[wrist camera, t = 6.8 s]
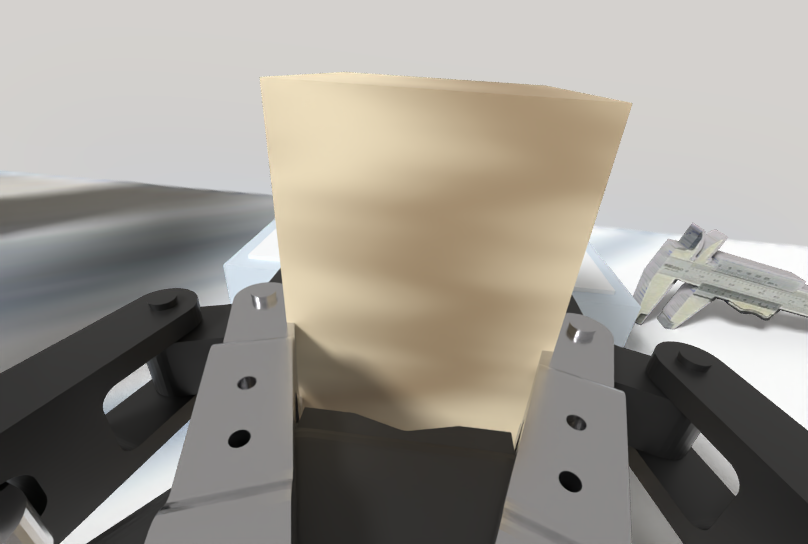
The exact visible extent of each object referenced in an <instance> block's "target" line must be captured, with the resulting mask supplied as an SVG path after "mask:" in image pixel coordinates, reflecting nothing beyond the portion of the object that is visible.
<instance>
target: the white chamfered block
mask: <svg viewBox="0 0 808 544" xmlns="http://www.w3.org/2000/svg"><path fill="white" fill-rule="evenodd" d="M223 268H224V273H225V278H226V283H227V288H228V293H229V298H230V303H231V304H232V303H233V299H234V297H235V295H236V294H237V293H238V292H239V291H241V290H242V289H244V288H246V287H248V286H251V285H254V284H258V283H265V282H269V281H270V280H271V279H272V277H273V276H274V275H275V274H276V273H277V271H278V270H279V269H280V268H281V266H280V257H279V248H278V239H277V230H276V220H275V219H274V220H273V221H272V222H271V223H270V224H268V225H267V226H266V227H265V228H264V229H263V230H262V231H261V232H259V233H258V234H257V235H256V236H255V237H254V238H253V239H252V240H250V241H249V242H248V243H247V244H246V245H245V246H244V247H243V248H241V249H240V250H239V251H238V252H237V253H236V254H235V255H234V256H232V257H231V258H230V259H229V260H228V261H227V262H226V263H225V264H223ZM572 295H573V297H574V299H575V301H576V302H577V304H578V306H579V308H580V310H581V312H582V313H583V315H584V316H587V317H590V318H592V319H594V320H596V321H598V322H600V323H601V324H603V325H604V326H605V327H607V328H608V329H609V330H610V332H611V333H612V335H613V338H614V344H615V345H617V346H619V347H622V348H624V346H625V344H626V341H627V339H628V337H629V334H630V332H631V330H632V327H633V325H634V323H635V320H636V318H637V316H638V313H639V311H640V309H641V306H640V305H639V304H638V302H637V301H636V300H635V299H634V297H633V296H632V295H631V294H630V292H629V291H628V290H627V289H626V287H625V286H624V285H623V284H622V282H621V281H620V280H619V279H618V277H617V276H616V275H615V274H614V272H613V271H612V270H611V269H610V267H609V266H608V265H607V264H606V262H605V261H604V260H603V259H602V257H601V256H600V255H599V254H598V252H597V251H596V250H595V249H594V247H593V246H592V245H591V244H590V242H588V245H587V248H586V251H585V254H584V257H583V261H582V264H581V267H580V270H579V273H578V276H577V279H576V283H575V286H574V289H573V292H572Z"/></svg>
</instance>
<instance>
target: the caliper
mask: <svg viewBox="0 0 808 544" xmlns="http://www.w3.org/2000/svg"><path fill="white" fill-rule="evenodd" d="M727 238H728V237H727V236H726V235H724V234H723V233H721V232H719V231H718V230H716V229H714V230H712V231H710V232H708V233H707V234H705V231H704V230H703V229H702V228H701V227H699V226H698V225H696V224H695V223H692V224H691V225H690V227H689V228H688V229H687V231H686V232H685V233H684V235H683V236H682V237H681V239H680V240H679V241H676V240H671V239H667V241H666V242H665V243H664V244H663V246H662V247H661V248H660V250H659V251H658V252H657V253H656V255H655V256H654V257H653V259H652V260H651V261H650V262H649V264H648V265H647V266H646V268H645V269H644V271H643V273H642V276H641V278H640V280H639V283H638V285H637V288H636V290H635V292H634V295H633V297H634V299H635V300H636V301H637V302H638V304H639V305H640V306H641V309H640V311H639V313H638V316H637V318H636V320H635V321H636V323H638V324H640V325H641V324H642V323H643V322H644V320H645V319H646V318H647V317H648V315H649V314H650V313H651V311H652V310H653V309H654V308H655V307H656V305H657V304H658V303H659V302H660V301H661V299H662V298H663V297H664V296H665V295H666V293H667V292H668V291H669V290H670V289H671V287H672V286H673V285H674V284H675V283H676V281H677V280H680V281H682V282H685V283H684V284H683V285H682V286H681V287H680V288H679V289H678V291H677V292H676V293H675V294H674V296H673V297H672V298H671V299H670V300H669V302H668V303H667V304H666V305H665V307H664V308H663V312H662V313H661V314H660V315H659V316H658V317H657V319H658V321H659V322H660V323H661V324H662V326H663V327H664V328H667V329H675V328H677V327H678V326H679V325H681V324H682V323H683V322H685V321H686V320H687V319H689V318H690V317H692V316H693V315H694V314H696V313H697V312H698V311H700V310H701V309H702V308H704V307H705V306H706V305H708V304H709V303H711V302H712V301H713V300H715V299H716V298H717V299H721V300H724V301H725V302H726V303H727V304H728V305H730V306H731V307H733V308H734V309H736V310H737V311H738V312H740V313H743V314H753V315H756V316H758V317H759V318H761V319H763V320H770V319H772V318H773V317H774V316H775V315H776V314H777V313H778V312H779V311H780V310H782V311H786V312H790V313H793V314H797V315H800V316H804V317H808V285H806V284H805V282H806V281H804V280H803V279H801V278H800V277H798V276H796V275H795V274H793V273H792V272H788V271H785V270H782V269H778V268H775V267H772V266H768V265H765V264H761V263H758V262H755V261H751V260H748V259H745V258H741V257H738V256H735V255H731V254H728V253H724V252H721V251H718V249H719V248H720V247H721V246H722V245H723V243H724V242H725V241H726V240H727Z"/></svg>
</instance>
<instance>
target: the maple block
mask: <svg viewBox="0 0 808 544" xmlns="http://www.w3.org/2000/svg"><path fill="white" fill-rule="evenodd" d="M260 84H261V92H262V93H261V94H262V103H263V112H264V121H265V129H266V139H267V147H268V157H269V165H270V175H271V184H272V193H273V202H274V211H275V220H276V230H277V239H278V248H279V257H280V266H281V275H282V284H283V293H284V302H285V311H286V320H287V322H288V323H294V324H295V335H296V358H297V376H298V386H299V396H300V397H302V405H303V410H304V408H305V407H309V408H318V409H326V410H334V411H342V412H350V413H356V414H358V415H361V416H364V417H367V418H370V419H372V420H375V421H378V422H381V423H383V424H386V425H389V426H392V427H394V428H397V429H400V430H404V431H413V430H423V429H433V428H443V427H454V426H464V427H472V428H480V429H488V430H496V431H505V432H511V434H512V440H513V445H514V444H515V440H516V436H517V433H518V430H519V426H520V423H522V420H523V416H524V413H525V410H526V406H527V403H528V400H529V396H530V392H531V389H532V385H533V381H534V377H535V373H536V370H537V366H538V363H539V359H540V356H541V353H542V350H543V351H552V352H554V349H555V346H556V342H557V339H558V336H559V333H560V330H561V327H562V324H563V320H564V317H565V314H566V311H567V308H568V305H569V302H570V298H571V295H572V292H573V289H574V286H575V283H576V279H577V276H578V273H579V270H580V267H581V264H582V261H583V257H584V254H585V251H586V248H587V245H588V242H589V239H590V235H591V232H592V229H593V226H594V223H595V220H596V217H597V213H598V210H599V207H600V204H601V201H602V198H603V194H604V191H605V188H606V185H607V181H608V178H609V176H610V173H611V169H612V166H613V163H614V160H615V157H616V154H617V150H618V147H619V144H620V141H621V138H622V135H623V132H624V129H625V125H626V122H627V119H628V116H629V113H630V110H631V106H632V103H629V102H624V101H619V100H614V99H609V98H604V97H599V96H594V95H590V94H585V93H580V92H574V91H570V90H565V89H560V88H555V87H550V86H543V85H528V84H513V83H499V82H484V81H469V80H453V79H441V78H426V77H410V76H397V75H382V74H366V73H353V72H337V73H319V74H304V75H303V74H302V75H286V76H271V77H270V76H269V77H260Z"/></svg>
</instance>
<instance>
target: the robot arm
mask: <svg viewBox="0 0 808 544" xmlns="http://www.w3.org/2000/svg"><path fill="white" fill-rule="evenodd" d="M145 363H147V365H148V368H149V371H150V374H151V377H152V380H150V381H149V382H148V383H146V384H145V385H144V386H142V387H141V388H140V389H138V390H137V391H136V392H135V393H133V394H132V395H131V396H129V397H128V398H127V399H125V400H124V401H123V402H121V403H120V404H119V405H117V406H116V407H115V408H114V409H112V410H111V411H110V412H108V413H107V414H106V415H105V414H104V411H103V402H104V399H105V397H106V395H107V393H108V392H109V391H110V389H111V388H112V387H113V386H115V385H116V384H117V383H119V382H120V381H121V380H123V379H124V378H126V377H127V376H128V375H130V374H131V373H133V372H134V371H135V370H137V369H138V368H140V367H141V366H143V365H144V364H145ZM189 420H190V423H189V427H188V430H187V434H186V438H185V441H184V445H183V448H182V452H181V456H180V459H179V463H178V466H177V470H176V474H175V477H174V481H173V485H172V488H170V489H169V490H167V491H166V492H164V493H163V494H161V495H160V496H158V497H157V498H155V499H154V500H152V501H151V502H149V503H148V504H146V505H145V506H143V507H142V508H140V509H138V510H137V511H135V512H134V513H132V514H131V515H129V516H128V517H126V518H125V519H123V520H122V521H120V522H119V523H117V524H116V525H114V526H113V527H111V528H110V529H108V530H106V531H105V532H103V533H102V534H100V535H99V536H97V537H96V538H94V539H93V540H91V541H90V542H88V543H87V544H632V537H631V512H630V488H629V466H630V468H631V469H632V471H633V472H634V474H635V475H636V476H637V478H638V479H639V481H640V482H641V484H642V485H643V486H644V488H645V489H646V491H647V492H648V494H649V495H650V496H651V498H652V499H653V501H654V502H655V504H656V505H657V506H658V508H659V509H660V511H661V512H662V514H663V515H664V516H665V518H666V519H667V521H668V522H669V524H670V525H671V526H672V528H673V529H674V531H675V532H676V534H677V535H678V536H679V538H680V539H681V541H682V542H683V544H808V430H806V429H805V428H804V427H803V426H801V425H800V424H799V423H798V422H796V421H795V420H794V419H793V418H791V417H790V416H789V415H788V414H786V413H785V412H784V411H783V410H781V409H780V408H779V407H778V406H776V405H775V404H774V403H773V402H772V401H770V400H769V399H768V398H767V397H765V396H764V395H763V394H762V393H760V392H759V391H758V390H757V389H755V388H754V387H753V386H752V385H750V384H749V383H748V382H747V381H745V380H744V379H743V378H742V377H740V376H739V375H738V374H737V373H735V372H734V371H733V370H732V369H730V368H729V367H728V366H727V365H725V364H724V363H723V362H722V361H720V360H719V359H718V358H716V357H715V356H713V355H711V354H710V353H708V352H706V351H704V350H702V349H700V348H697V347H694V346H692V345H688V344H685V343H680V342H662V343H660V344H658V345H657V346H656V347H655V349H654V352H653V354H652V356H649V355H646V354H642V353H639V352H636V351H632V350H629V349H625V348H622V347H619V346H617V345H615V344H614V338H613V335H612V333H611V332H610V330H609V329H608V328H607V327H605V326H604V325H603V324H601V323H600V322H598V321H596V320H594V319H592V318H590V317H587V316H584V315H583V313H582V312H581V310H580V308H579V306H578V304H577V302H576V301H575V299H574V297H573V295H571V298H570V302H569V305H568V308H567V311H566V314H565V317H564V320H563V324H562V327H561V330H560V333H559V336H558V339H557V342H556V346H555V349H554V352H552V351H543V350H542V353H541V356H540V359H539V363H538V366H537V370H536V373H535V377H534V381H533V385H532V389H531V392H530V396H529V400H528V403H527V406H526V410H525V413H524V416H523V420H522V423H520V426H519V430H518V433H517V436H516V440H515V444H514V445H513V440H512V434H511V432H505V431H496V430H488V429H480V428H472V427H464V426H454V427H443V428H433V429H423V430H413V431H404V430H400V429H397V428H394V427H392V426H389V425H386V424H383V423H381V422H378V421H375V420H372V419H370V418H367V417H364V416H361V415H358V414H356V413H350V412H342V411H334V410H326V409H318V408H309V407H305V408H304V410H303V405H302V397H300V396H299V386H298V376H297V358H296V335H295V324H294V323H288V322H287V320H286V311H285V302H284V293H283V284H282V275H281V268H280V269H279V270H278V271H277V273H276V274H275V275H274V276H273V277H272V279H271V280H270V281H269V282H265V283H258V284H254V285H251V286H248V287H246V288H244V289H242V290H241V291H239V292H238V293H237V294H236V295H235V297H234V299H233V303H232V304H228V305H217V306H205V307H200V305H199V301H198V297H197V295H196V294H195V293H194V292H193V291H191V290H188V289H181V288H172V289H164V290H159V291H155V292H152V293H149V294H147V295H144V296H142V297H140V298H139V299H137V300H135V301H133V302H131V303H129V304H128V305H126V306H124V307H122V308H120V309H118V310H116V311H115V312H113V313H111V314H109V315H107V316H105V317H104V318H102V319H100V320H98V321H96V322H94V323H93V324H91V325H89V326H87V327H85V328H83V329H82V330H80V331H78V332H76V333H74V334H72V335H70V336H69V337H67V338H65V339H63V340H61V341H59V342H58V343H56V344H54V345H52V346H50V347H48V348H47V349H45V350H43V351H41V352H39V353H37V354H36V355H34V356H32V357H30V358H28V359H26V360H24V361H23V362H21V363H19V364H17V365H15V366H13V367H12V368H10V369H8V370H6V371H4V372H2V373H1V374H0V544H60V543H61V542H62V541H63V540H64V539H65V538H66V537H67V536H68V535H69V534H70V533H71V532H72V531H73V530H74V529H75V528H76V527H77V526H79V525H80V524H81V523H82V522H83V521H84V520H85V519H86V518H87V517H88V516H89V515H90V514H91V513H92V512H93V511H94V510H95V509H96V508H97V507H98V506H100V505H101V504H102V503H103V502H104V501H105V500H106V499H107V498H108V497H109V496H110V495H111V494H112V493H113V492H114V491H115V490H116V489H117V488H118V487H120V486H121V485H122V484H123V483H124V482H125V481H126V480H127V479H128V478H129V477H130V476H131V475H132V474H133V473H134V472H135V471H136V470H137V469H138V468H139V467H141V466H142V465H143V464H144V463H145V462H146V461H147V460H148V459H149V458H150V457H151V456H152V455H153V454H154V453H155V452H156V451H157V450H158V449H159V448H160V447H162V446H163V445H164V444H165V443H166V442H167V441H168V440H169V439H170V438H171V437H172V436H173V435H174V434H175V433H176V432H177V431H178V430H179V429H180V428H182V427H183V426H184V425H185V424H186V423H187V422H188V421H189ZM700 432H701V433H702V434H703V435H704V436H705V437H706V438H707V439H708V440H709V441H710V442H711V443H712V445H713V446H714V447H715V448H716V449H717V450H718V451H719V452H720V453H721V454H722V455H723V456H724V457H725V458H726V459H727V460H728V461H729V462H730V464H731V465H732V466H733V468H734V469H735V471H736V473H737V476H738V479H739V484H740V489H739V492H738V494H737V496H736V497H735V495H734V494H733V493H732V492H731V491H730V490H729V489H728V488H727V486H726V485H725V484H724V483H723V482H722V481H721V480H720V479H719V478H718V476H717V475H716V474H715V473H714V472H713V471H712V470H711V469H710V467H709V466H708V465H707V464H706V463H705V462H704V461H703V460H702V458H701V457H700V456H699V455H698V454H697V453H696V452H695V451H694V450H693V448H692V447H691V446H692V444H693V443H694V441H695V440H696V438H697V437H698V435H699V434H700Z"/></svg>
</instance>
